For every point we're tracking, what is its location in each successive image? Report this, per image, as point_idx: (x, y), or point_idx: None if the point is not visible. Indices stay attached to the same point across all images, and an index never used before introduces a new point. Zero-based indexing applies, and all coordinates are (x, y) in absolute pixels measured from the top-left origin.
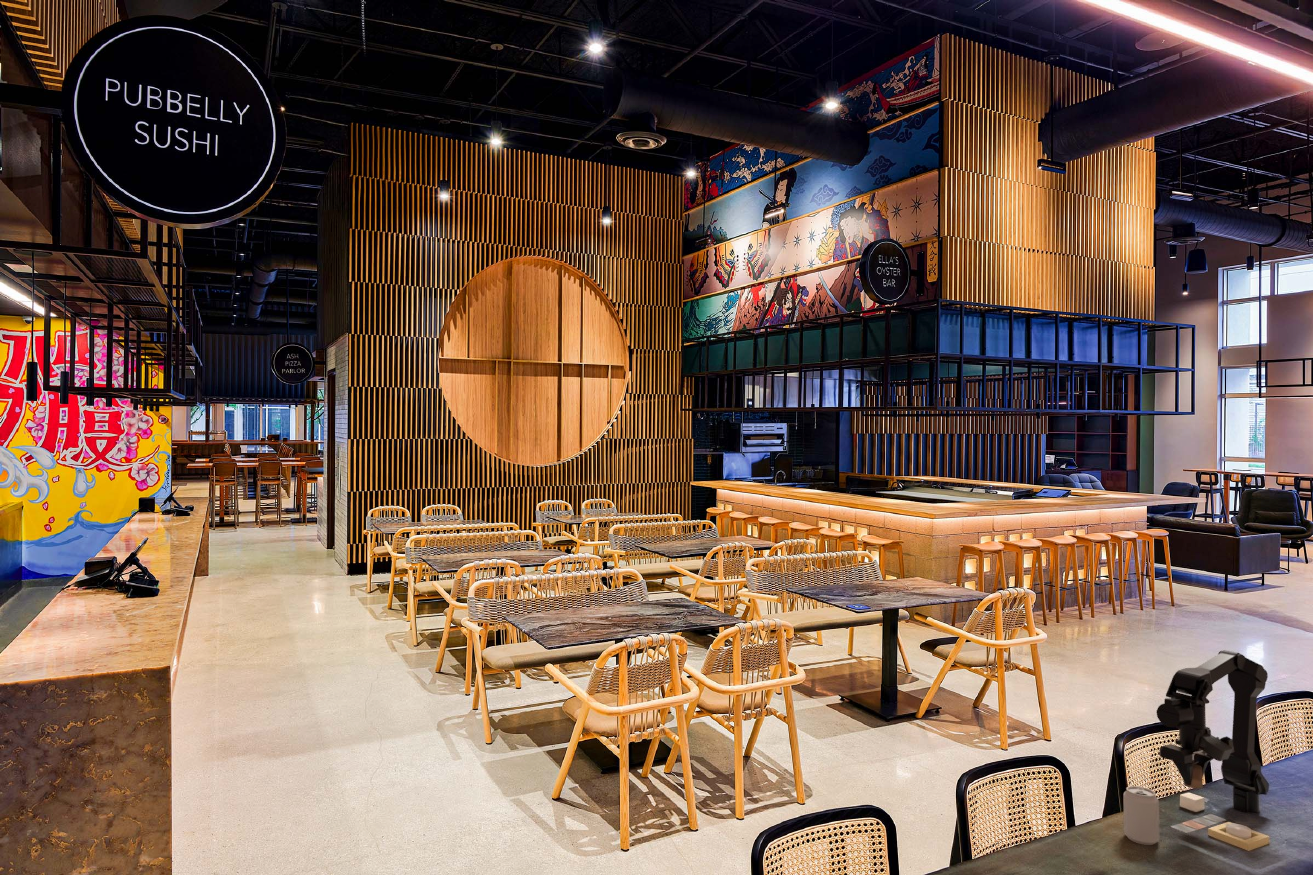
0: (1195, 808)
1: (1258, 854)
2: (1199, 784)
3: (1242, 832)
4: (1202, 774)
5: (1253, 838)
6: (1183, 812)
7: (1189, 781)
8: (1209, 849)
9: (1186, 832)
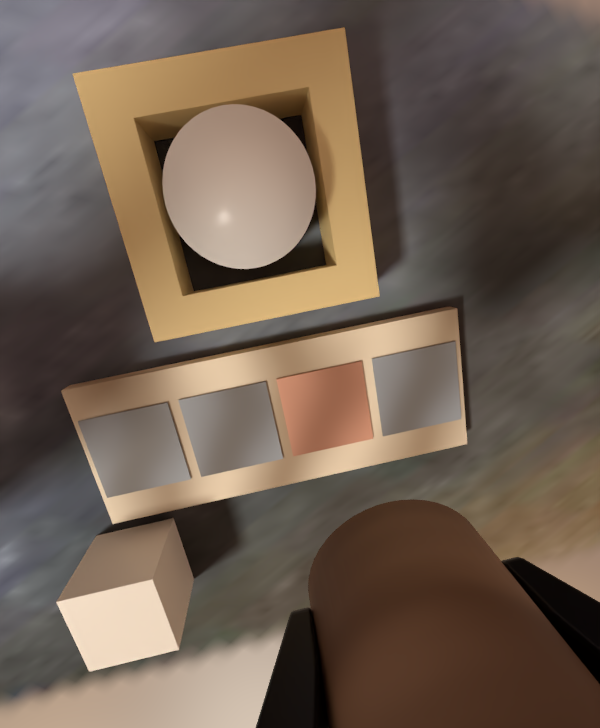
0: (164, 543)
1: None
2: (438, 534)
3: (280, 122)
4: (297, 720)
5: (227, 85)
6: (207, 551)
7: (574, 591)
8: (479, 188)
9: (449, 346)
